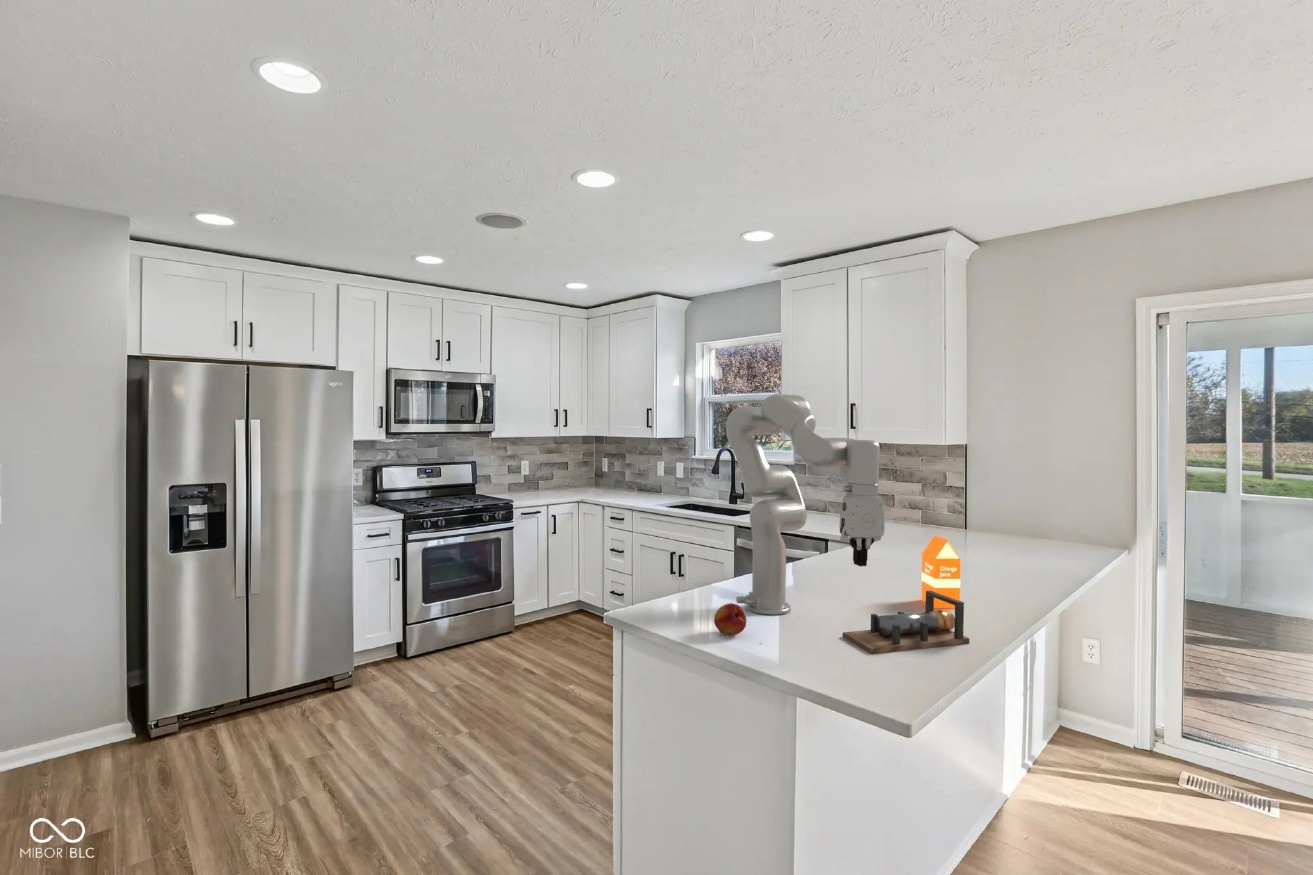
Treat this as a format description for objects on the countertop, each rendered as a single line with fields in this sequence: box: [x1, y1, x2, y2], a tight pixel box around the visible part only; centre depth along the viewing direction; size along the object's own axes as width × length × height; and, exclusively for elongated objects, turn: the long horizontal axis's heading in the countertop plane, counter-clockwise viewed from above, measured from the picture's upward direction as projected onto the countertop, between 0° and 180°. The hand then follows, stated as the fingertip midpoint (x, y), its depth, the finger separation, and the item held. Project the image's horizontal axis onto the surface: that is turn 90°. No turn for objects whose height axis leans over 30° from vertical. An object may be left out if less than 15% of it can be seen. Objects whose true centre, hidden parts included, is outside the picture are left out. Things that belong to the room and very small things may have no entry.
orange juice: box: [920, 534, 962, 609], centre depth 190 cm, size 8×9×20 cm
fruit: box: [713, 602, 747, 636], centre depth 160 cm, size 8×8×8 cm
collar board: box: [842, 590, 970, 655], centre depth 157 cm, size 28×12×10 cm, turn 107°
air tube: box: [875, 609, 955, 637], centre depth 159 cm, size 20×5×5 cm, turn 107°
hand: (860, 564), depth 155 cm, fingers closed
